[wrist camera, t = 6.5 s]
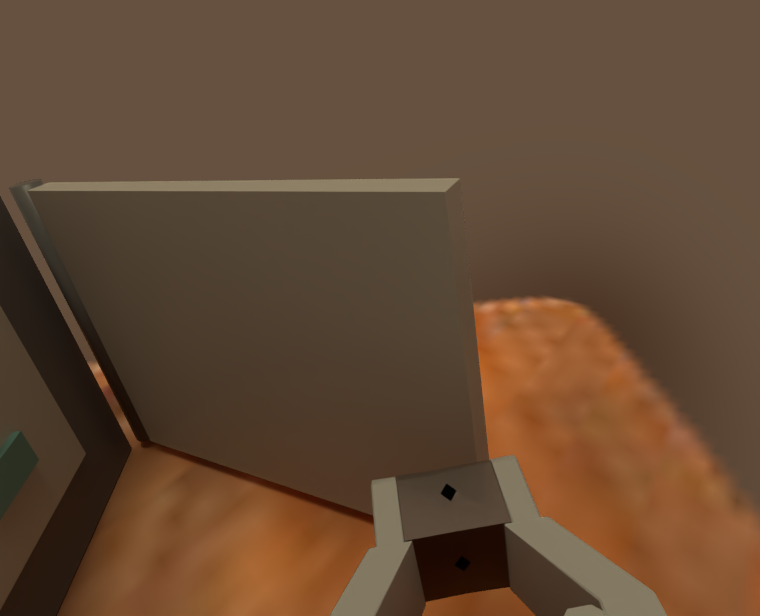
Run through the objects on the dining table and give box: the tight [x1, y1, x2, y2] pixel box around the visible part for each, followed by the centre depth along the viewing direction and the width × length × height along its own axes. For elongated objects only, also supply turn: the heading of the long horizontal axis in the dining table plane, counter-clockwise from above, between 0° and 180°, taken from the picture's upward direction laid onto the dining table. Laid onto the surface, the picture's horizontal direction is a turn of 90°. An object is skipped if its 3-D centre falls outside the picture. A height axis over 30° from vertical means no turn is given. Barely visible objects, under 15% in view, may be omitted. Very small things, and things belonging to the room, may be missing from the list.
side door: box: [9, 178, 489, 515], centre depth 18 cm, size 16×1×11 cm, turn 61°
